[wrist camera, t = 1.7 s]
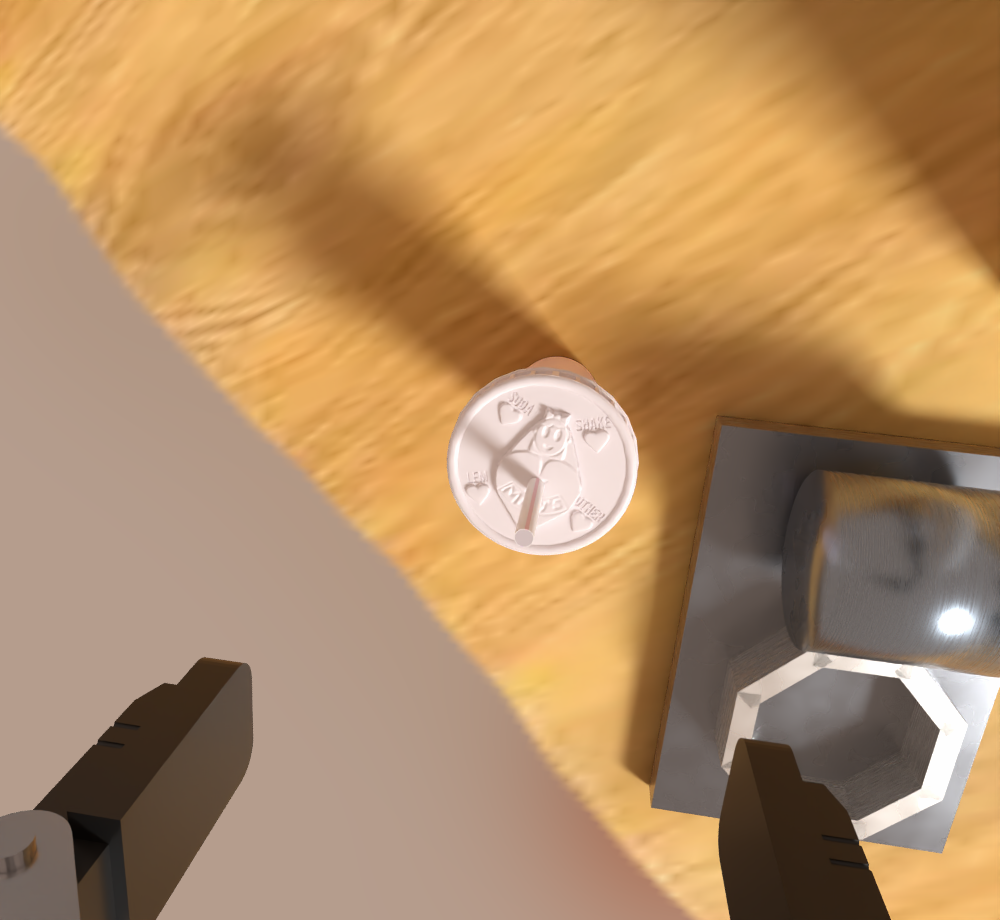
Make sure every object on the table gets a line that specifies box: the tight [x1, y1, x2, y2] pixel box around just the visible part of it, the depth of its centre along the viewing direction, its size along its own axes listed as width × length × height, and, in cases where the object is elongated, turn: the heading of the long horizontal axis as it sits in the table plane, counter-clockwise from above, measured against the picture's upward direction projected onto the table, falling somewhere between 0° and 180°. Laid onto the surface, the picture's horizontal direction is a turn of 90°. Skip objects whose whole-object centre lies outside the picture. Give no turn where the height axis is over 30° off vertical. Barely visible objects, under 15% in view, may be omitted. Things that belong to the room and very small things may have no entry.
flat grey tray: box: [649, 416, 1000, 853], centre depth 33 cm, size 20×14×8 cm
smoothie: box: [447, 357, 639, 555], centre depth 28 cm, size 6×6×14 cm
